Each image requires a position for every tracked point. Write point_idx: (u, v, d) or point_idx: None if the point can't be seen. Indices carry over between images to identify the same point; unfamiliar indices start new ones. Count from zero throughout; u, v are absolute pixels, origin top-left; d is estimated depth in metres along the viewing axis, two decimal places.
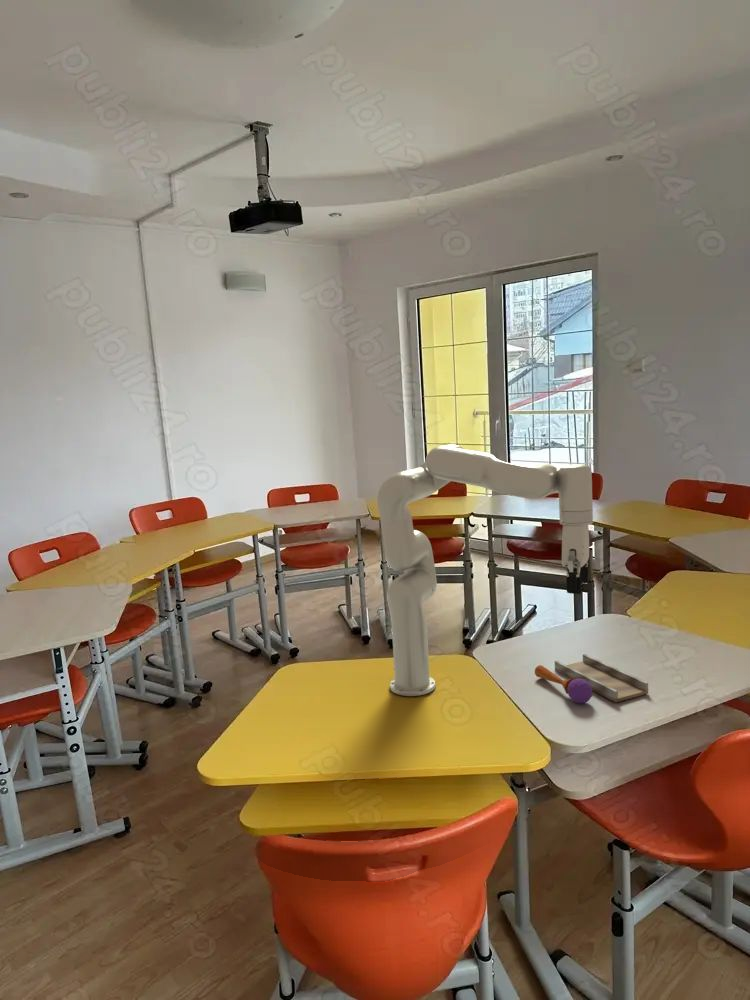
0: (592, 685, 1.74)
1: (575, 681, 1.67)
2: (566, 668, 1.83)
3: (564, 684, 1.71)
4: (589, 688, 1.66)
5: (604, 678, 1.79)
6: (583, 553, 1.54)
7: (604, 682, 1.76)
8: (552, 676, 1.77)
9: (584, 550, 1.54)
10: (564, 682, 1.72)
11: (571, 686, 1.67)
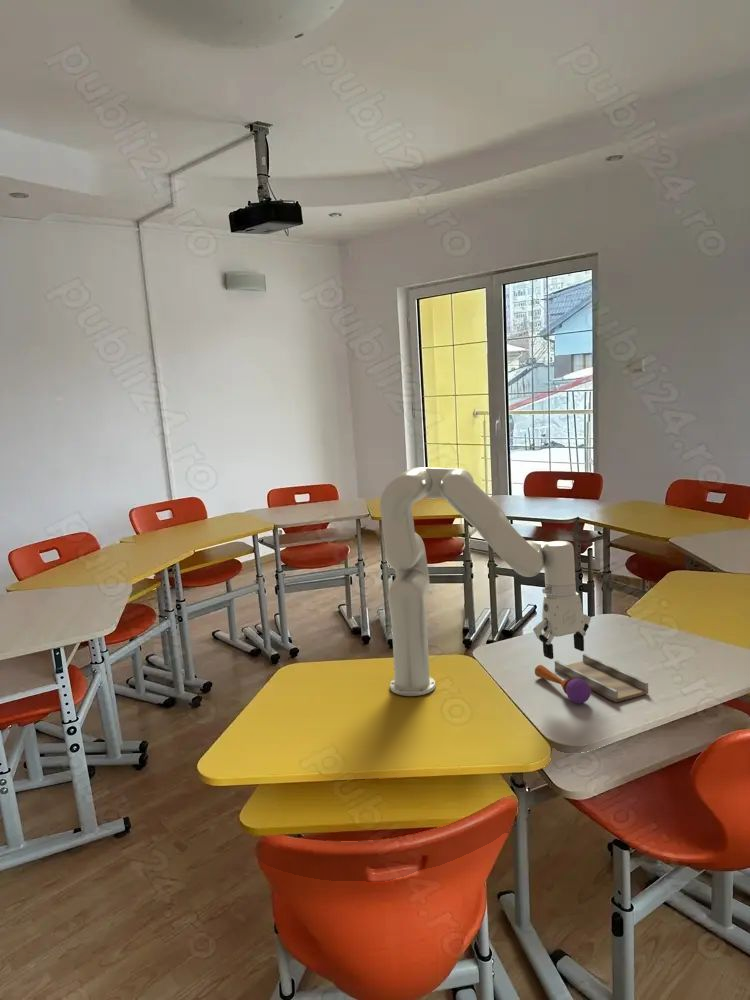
0: (592, 685, 1.74)
1: (573, 681, 1.67)
2: (566, 668, 1.83)
3: (563, 684, 1.71)
4: (587, 688, 1.66)
5: (604, 678, 1.79)
6: None
7: (604, 682, 1.76)
8: (551, 676, 1.77)
9: None
10: (563, 682, 1.72)
11: (569, 686, 1.67)
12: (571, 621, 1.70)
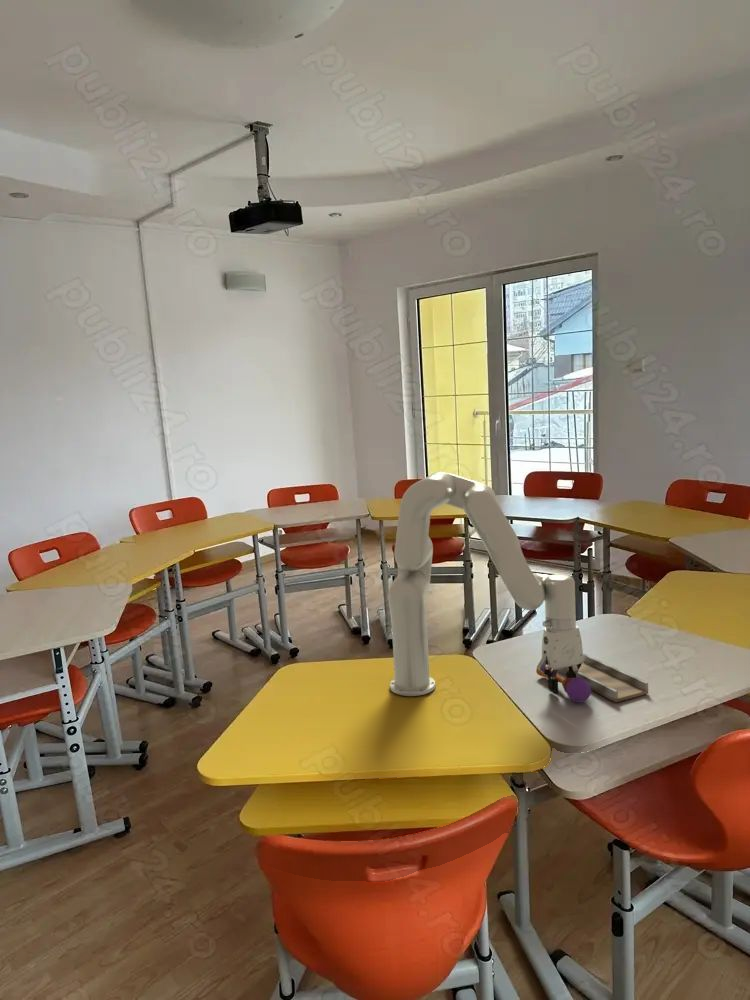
0: (592, 685, 1.74)
1: (573, 680, 1.67)
2: (566, 668, 1.83)
3: (563, 683, 1.71)
4: (587, 687, 1.66)
5: (604, 678, 1.79)
6: None
7: (604, 682, 1.76)
8: None
9: None
10: (563, 681, 1.72)
11: (569, 685, 1.67)
12: (570, 655, 1.71)
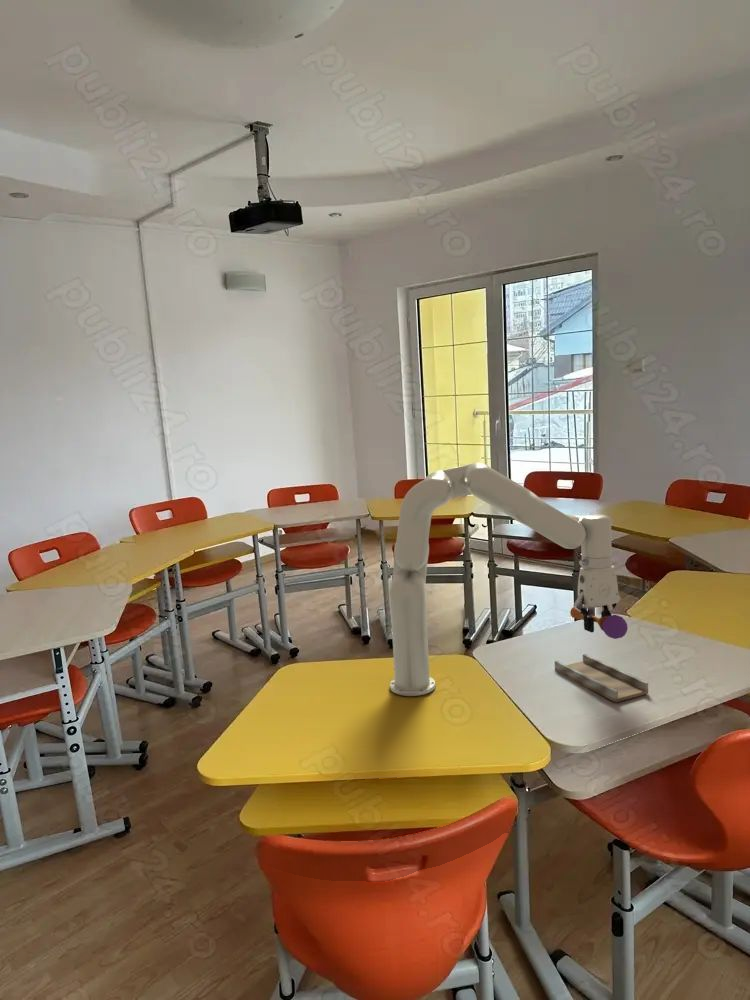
0: (592, 685, 1.74)
1: (610, 617, 1.70)
2: (566, 668, 1.83)
3: (599, 621, 1.74)
4: (624, 623, 1.68)
5: (604, 678, 1.79)
6: None
7: (604, 682, 1.76)
8: None
9: None
10: (599, 619, 1.74)
11: (606, 622, 1.70)
12: (606, 593, 1.74)
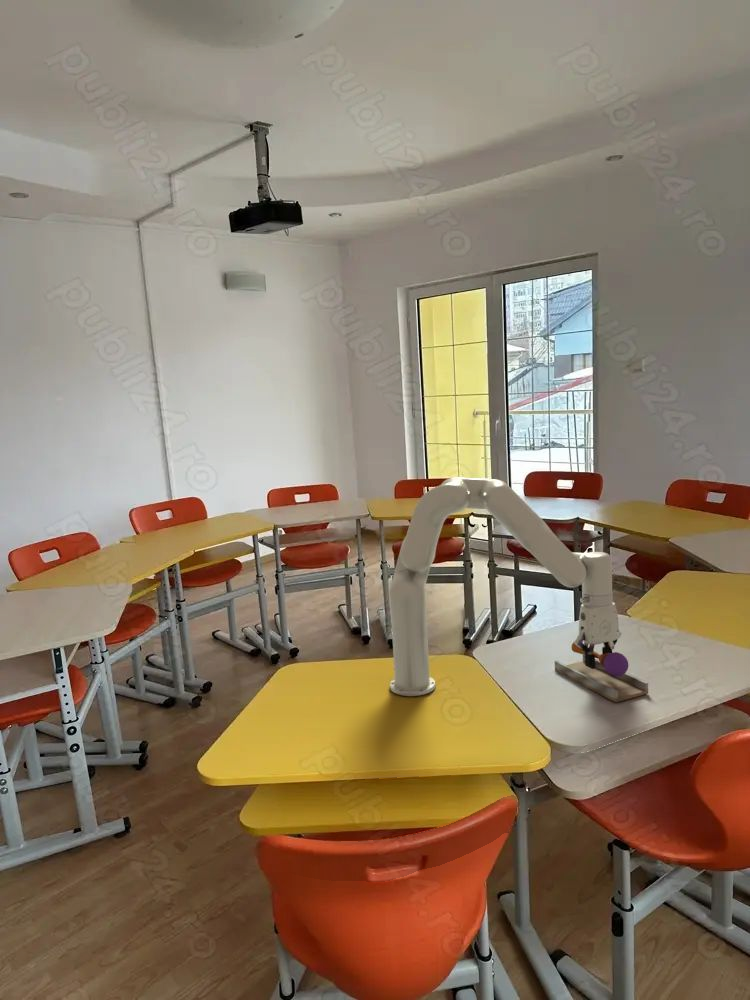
0: (592, 685, 1.74)
1: (611, 654, 1.71)
2: (566, 668, 1.83)
3: (600, 658, 1.75)
4: (625, 661, 1.70)
5: (604, 678, 1.79)
6: None
7: (604, 682, 1.76)
8: None
9: None
10: (600, 656, 1.76)
11: (607, 659, 1.71)
12: (607, 630, 1.75)
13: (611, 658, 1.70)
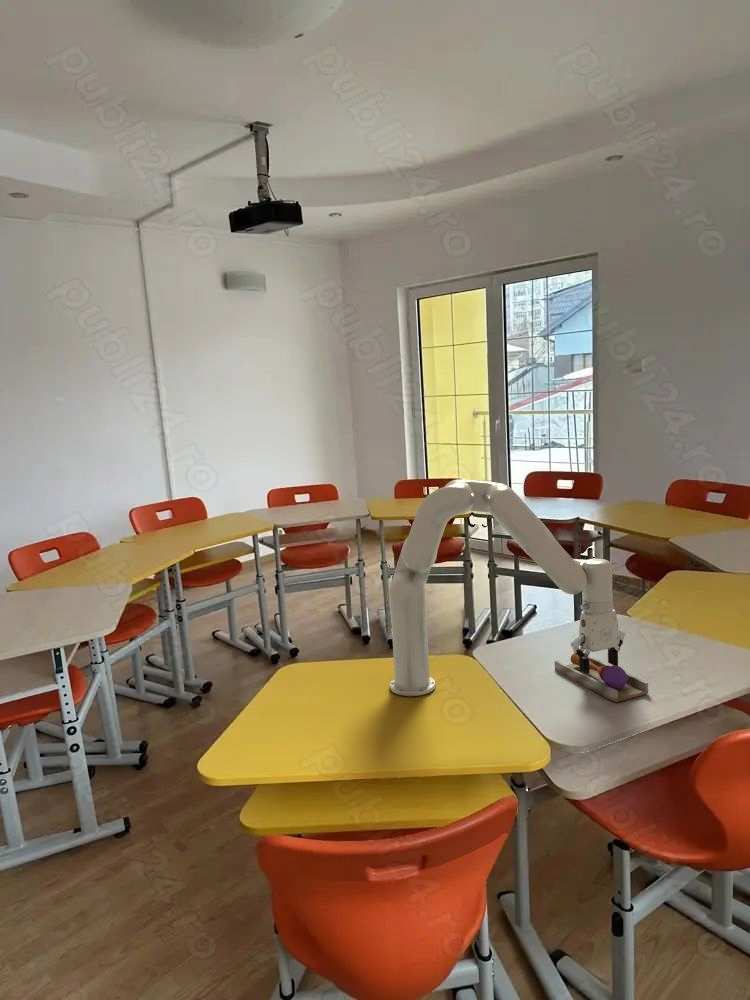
0: (592, 685, 1.74)
1: (610, 668, 1.72)
2: (566, 668, 1.83)
3: (599, 671, 1.75)
4: (624, 674, 1.70)
5: None
6: None
7: None
8: None
9: None
10: (599, 669, 1.76)
11: (606, 673, 1.71)
12: (607, 637, 1.75)
13: (610, 671, 1.71)
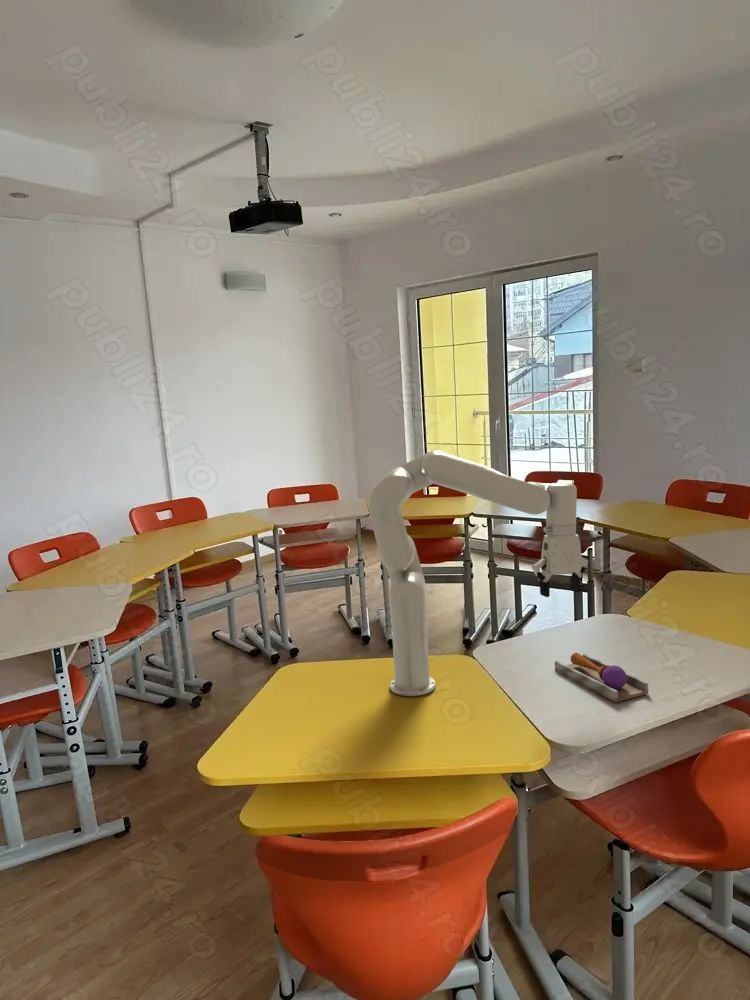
0: (592, 685, 1.74)
1: (610, 667, 1.72)
2: (566, 668, 1.83)
3: (599, 670, 1.75)
4: (623, 674, 1.70)
5: None
6: None
7: None
8: (587, 663, 1.82)
9: None
10: (599, 669, 1.76)
11: (605, 672, 1.71)
12: (569, 561, 1.74)
13: (609, 671, 1.71)
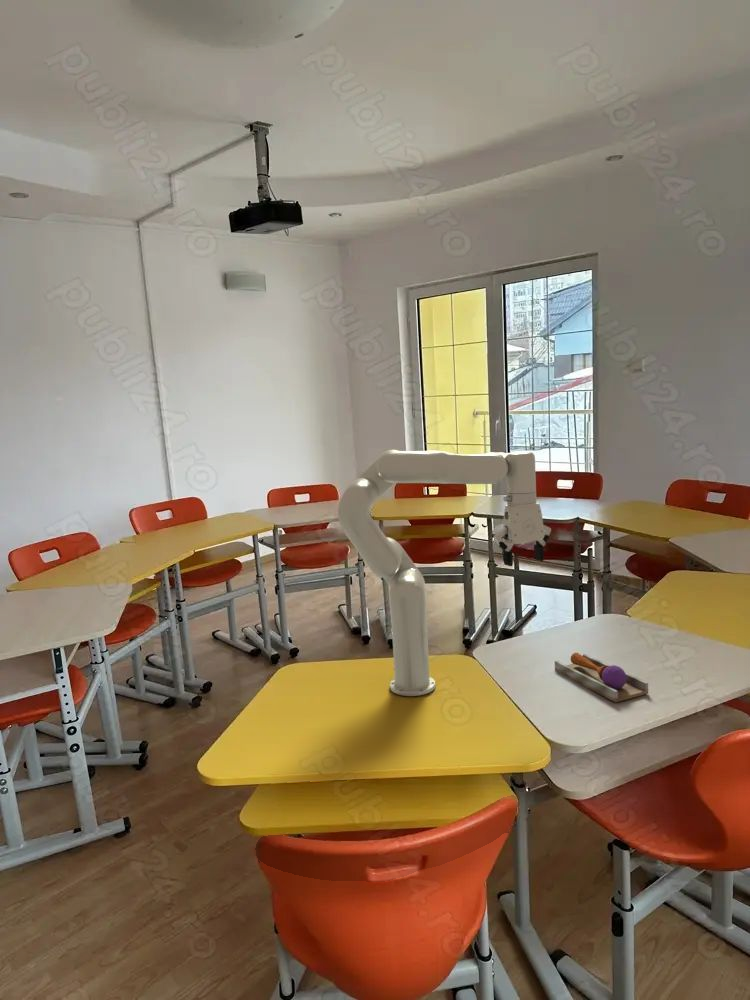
0: (592, 685, 1.74)
1: (609, 667, 1.72)
2: (566, 668, 1.83)
3: (599, 670, 1.75)
4: (623, 674, 1.70)
5: None
6: None
7: None
8: (587, 663, 1.82)
9: None
10: (599, 669, 1.76)
11: (605, 672, 1.71)
12: (530, 530, 1.74)
13: (609, 671, 1.71)
